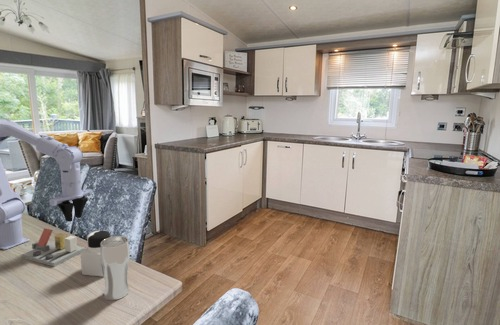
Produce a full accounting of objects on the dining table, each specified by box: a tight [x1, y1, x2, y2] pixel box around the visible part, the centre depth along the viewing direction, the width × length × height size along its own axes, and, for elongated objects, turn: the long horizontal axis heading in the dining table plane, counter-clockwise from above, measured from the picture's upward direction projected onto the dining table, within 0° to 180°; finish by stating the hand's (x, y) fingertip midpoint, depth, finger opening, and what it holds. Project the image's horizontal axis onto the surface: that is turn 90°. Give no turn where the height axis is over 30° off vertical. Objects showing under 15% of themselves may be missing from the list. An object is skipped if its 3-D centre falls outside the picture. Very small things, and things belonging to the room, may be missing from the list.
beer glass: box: [100, 235, 131, 301], centre depth 72 cm, size 7×7×15 cm
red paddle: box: [35, 228, 54, 250], centre depth 93 cm, size 4×1×7 cm, turn 72°
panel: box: [22, 240, 86, 267], centre depth 92 cm, size 15×11×3 cm
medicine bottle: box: [80, 230, 111, 278], centre depth 83 cm, size 7×7×12 cm
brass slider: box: [54, 233, 68, 250], centre depth 93 cm, size 2×2×4 cm
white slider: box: [65, 235, 78, 252], centre depth 91 cm, size 2×2×4 cm
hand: (73, 219), depth 97 cm, fingers open, 3 cm apart
